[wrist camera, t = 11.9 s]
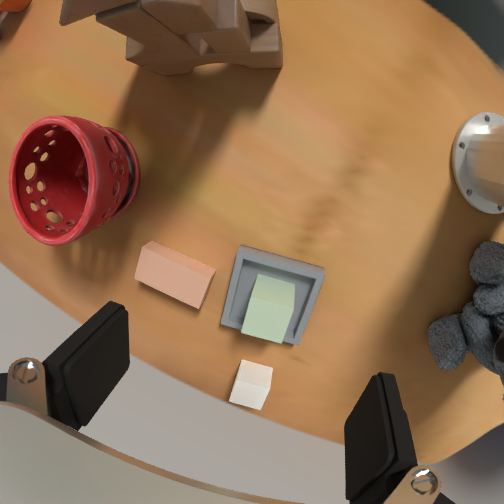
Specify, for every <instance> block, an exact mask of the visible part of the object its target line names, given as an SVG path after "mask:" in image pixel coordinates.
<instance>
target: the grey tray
mask: <svg viewBox="0 0 504 504" xmlns="http://www.w3.org/2000/svg"><path fill="white" fill-rule="evenodd" d="M258 274H260V275H264V276H267V277H271V278H274V279H278V280H282V281H285V282H289V283H293V284H295V296H294V310H293V313H292V316H291V319H290V322H289V324H288V327H287V330H286V333H285V335H284V338H283V342H287V343H291V344H295V345H299V342H300V340H301V337H302V335H303V332H304V330H305V327H306V325H307V322H308V320H309V317H310V314H311V312H312V309H313V307H314V304H315V301H316V299H317V296H318V293H319V290H320V288H321V285H322V282H323V279H324V277H325V270H324V268H323V267H319V266H316V265H312V264H309V263H305V262H301V261H298V260H294V259H291V258H287V257H284V256H280V255H276V254H273V253H269V252H266V251H262V250H258V249H255V248H251V247H248V246H244V245H241V246H240V248H239V249H238V252H237V256H236V261H235V265H234V269H233V273H232V277H231V282H230V286H229V290H228V294H227V298H226V303H225V307H224V311H223V315H222V320H221V324H222V325H225V326H229V327H232V328H236V329H239V330H242V327H243V323H244V320H245V316H246V312H247V309H248V305H249V301H250V298H251V295H252V291H253V288H254V285H255V282H256V279H257V275H258Z"/></svg>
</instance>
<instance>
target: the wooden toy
mask: <svg viewBox="0 0 504 504" xmlns="http://www.w3.org/2000/svg"><path fill="white" fill-rule="evenodd" d="M94 14H95V16H96V21H97V22H98V23H101V24H103V25H105V26H107V27H109V28H111V29H113V30H115V31H117V32H119V33H121V34H123V35H125V36H127V43H126V60H127V61H130V62H132V63H135V64H137V65H139V66H141V67H143V68H146V69H148V70H150V71H153V72H155V73H157V74H160V75H162V76H169V75H176V74H184V73H191V72H192V68H193V67H196V66H199V65H205V64H212V63H232V64H240V65H244V66H247V67H248V68H282V66H283V52H282V39H281V33H280V27H279V15H278V9H277V3H276V0H63V4H62V9H61V15H60V21H59V23H60V24H61V26H66V25H68V24H71V23H73V22H76V21H78V20H81V19H84V18H86V17H89V16H92V15H94Z"/></svg>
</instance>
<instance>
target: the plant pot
mask: <svg viewBox="0 0 504 504" xmlns="http://www.w3.org/2000/svg"><path fill="white" fill-rule="evenodd" d="M50 130H52V131H51V132H50V133H49V134H47V135H44V134H45V133H47V132H48V131H50ZM53 140H55V142H54V143H53V144H51V145H49V143H50V142H51V141H53ZM36 147H39V149H38V150H37V151H36V152H34V149H35V148H36ZM45 152H47V153H48V156H47V158H46V159H45V160H44V161H40V158H41V156H42V155H43V154H44V153H45ZM30 163H35V173H34V175H33V177H32V178H31V179H29V180H27V179H26V178H25V175H24V172H25V169H26V167H27V166H28V165H29V164H30ZM139 176H140V169H139V162H138V158H137V154H136V152H135V150H134V147H133V146H132V144H131V143H130V141H129V140H128V139H127V138H126V137H125V136H124V135H123V134H122V133H120V132H119V131H117V130H115V129H112V128H108V127H102V126H100V125H99V124H96V123H94V122H91V121H88V120H85V119H82V118H77V117H70V116H49V117H45V118H42V119H40V120H38V121H36V122H35V123H34V124H32V125H31V126H30V127H29V128H28V129H27V130H26V131H25V132H24V133H23V135H22V136H21V138H20V140H19V141H18V143H17V145H16V147H15V150H14V153H13V156H12V159H11V164H10V169H9V192H10V198H11V202H12V206H13V209H14V211H15V214H16V216H17V218H18V220H19V222H20V224H21V225H22V227H23V228H24V229H25V231H26V232H27V233H28V234H29V235H31V236H32V237H33V238H34V239H36V240H37V241H39V242H41V243H44V244H46V245H51V246H60V245H64V244H67V243H70V242H72V241H74V240H77V239H79V238H81V237H82V236H84V235H86V234H88V233H89V232H90V231H92V230H93V229H95V228H97V227H99V226H100V225H102V224H103V223H105V222H106V221H107V220H108V219H111V218H114V217H116V216H117V215H119V214H120V213H122V212H123V211H124V210H125V209H126V208H127V207H128V206H129V204H130V203H131V202H132V200H133V198H134V196H135V194H136V191H137V188H138V184H139ZM39 181H41V182H42V183H43V190H42V191H39V190H38V189H37V183H38V182H39ZM27 186H29V187H30V189H31V192H30V194H28V193H27V191H26V187H27ZM41 199H44V200H45V201H46V205H43V204H41ZM31 203H34V204H35V205H36V206H37V211H34V210H32V209H31V207H30V204H31ZM48 212H54V213H56V214H57V215H59V216H60V217H61V219H62V221H60V222H59V223H53V222H51V221H49V219H47V217H46V214H47V213H48ZM68 224H73V225H68ZM46 228H51V229H52V230H48V229H46Z"/></svg>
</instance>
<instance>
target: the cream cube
mask: <svg viewBox="0 0 504 504" xmlns="http://www.w3.org/2000/svg"><path fill="white" fill-rule="evenodd" d="M272 371H273V368H271V367H267V366H264V365H260V364H257V363H253V362H250V361H246V360H243V359H242V360H241V363H240V366H239V369H238V372H237V375H236V378H235V381H234V385H233V388H232V392H231V395H230V399H229V402H233V403H236V404H240V405H243V406H247V407H251V408H254V409H258V410H261V408H262V406H263V403H264V401H265V399H266V397H267V395H268V392H269V390H270V385H271V378H272Z"/></svg>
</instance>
